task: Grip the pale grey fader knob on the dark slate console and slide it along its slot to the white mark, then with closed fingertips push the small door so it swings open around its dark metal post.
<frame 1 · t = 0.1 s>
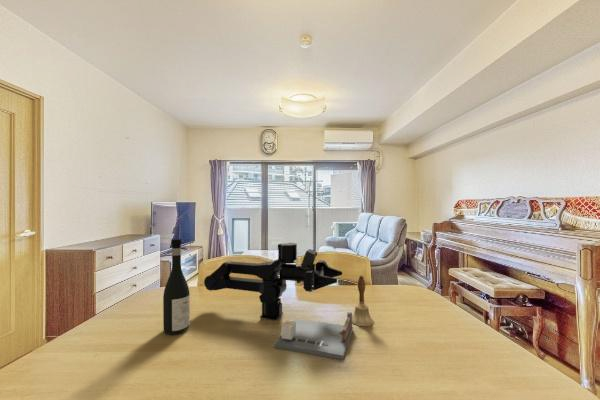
hand: (339, 276, 96), 17 cm above the table, tool horizontal, fingers open, 9 cm apart
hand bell: (361, 321, 100), on the table
wine bottle: (176, 330, 93), on the table
door: (345, 328, 88), point 3 cm above the table, hinge at 0.0°, touching console
fader: (288, 330, 85), point 4 cm above the table, slide at 0.0 cm
console: (315, 338, 88), on the table
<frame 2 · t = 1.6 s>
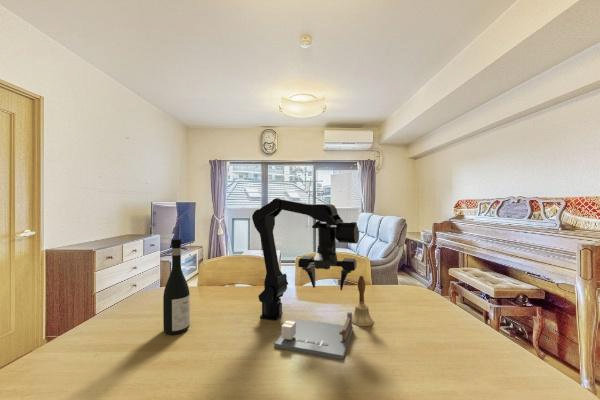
hand: (327, 288, 94), 13 cm above the table, tool pointing down, fingers open, 9 cm apart
nothing on the table moved.
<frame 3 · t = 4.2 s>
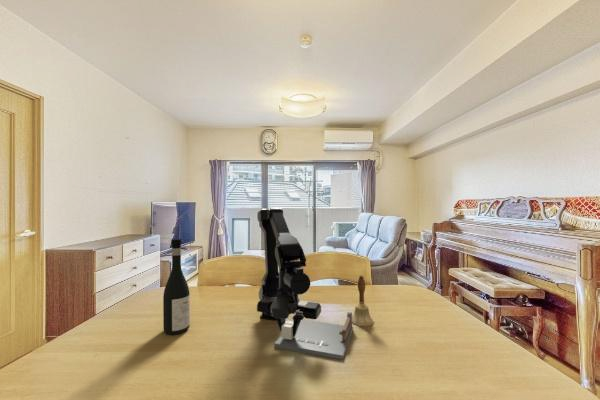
hand: (288, 335, 85), 2 cm above the table, tool pointing down, fingers closed on fader, 3 cm apart
fader: (288, 330, 85), point 4 cm above the table, slide at 0.0 cm, touching gripper
everything else where it was.
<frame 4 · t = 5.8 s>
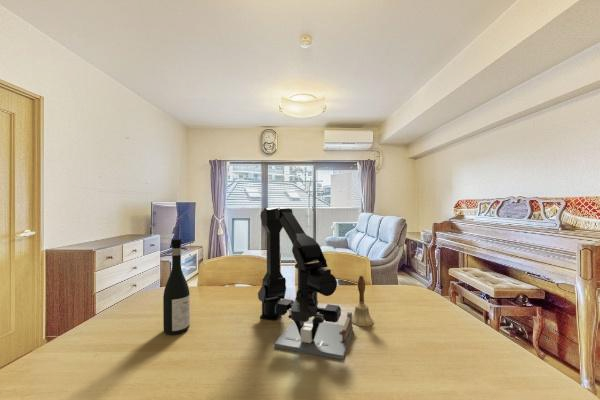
hand: (307, 338, 83), 2 cm above the table, tool pointing down, fingers closed on fader, 3 cm apart
fader: (307, 333, 83), point 4 cm above the table, slide at 5.9 cm, touching gripper
everything else where it was.
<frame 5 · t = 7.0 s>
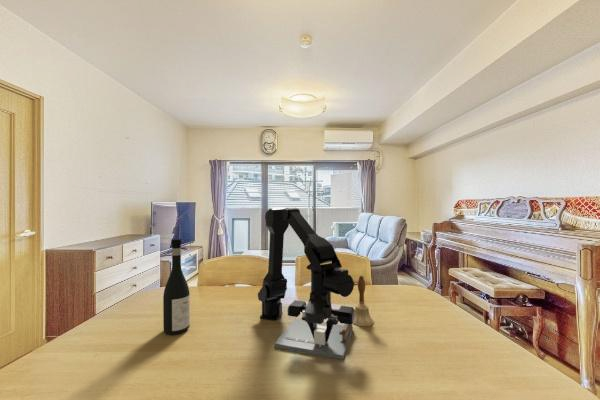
hand: (321, 341, 82), 2 cm above the table, tool pointing down, fingers closed on fader, 3 cm apart
fader: (321, 335, 82), point 4 cm above the table, slide at 9.9 cm, touching gripper
everything else where it was.
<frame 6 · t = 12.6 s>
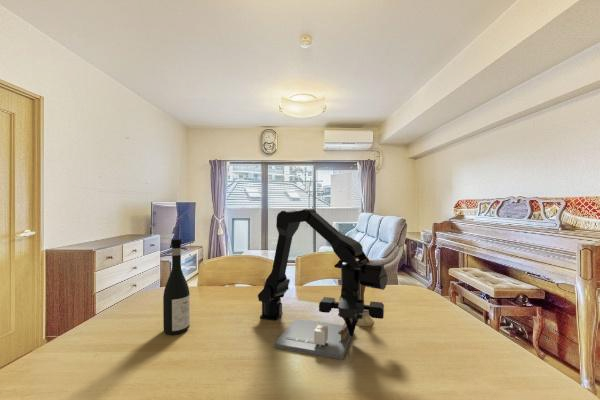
hand: (351, 335, 85), 2 cm above the table, tool pointing down, fingers closed
door: (344, 328, 88), point 3 cm above the table, hinge at 2.0°, touching console, gripper
fader: (321, 335, 82), point 4 cm above the table, slide at 10.0 cm
everything else where it was.
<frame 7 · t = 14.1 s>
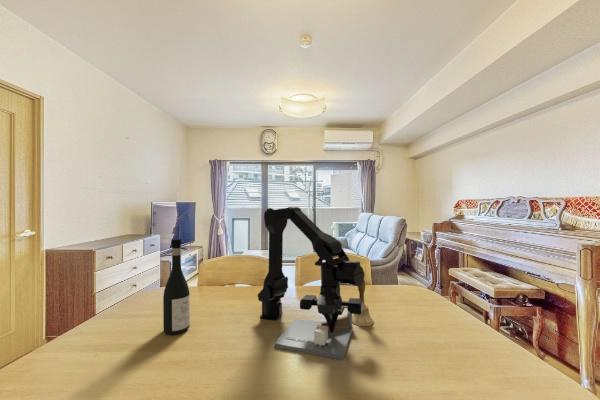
hand: (332, 332, 87), 2 cm above the table, tool pointing down, fingers closed
door: (334, 324, 91), point 3 cm above the table, hinge at 42.0°, touching console, gripper
everything else where it was.
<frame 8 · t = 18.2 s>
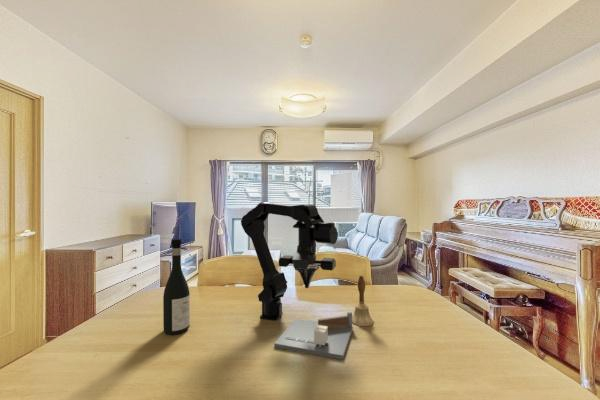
hand: (307, 287, 96), 13 cm above the table, tool pointing down, fingers closed
door: (332, 322, 92), point 3 cm above the table, hinge at 55.1°, touching console
everything else where it was.
at the end: fader slide at 10.0 cm; door at +55° (first picture: +0°) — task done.
